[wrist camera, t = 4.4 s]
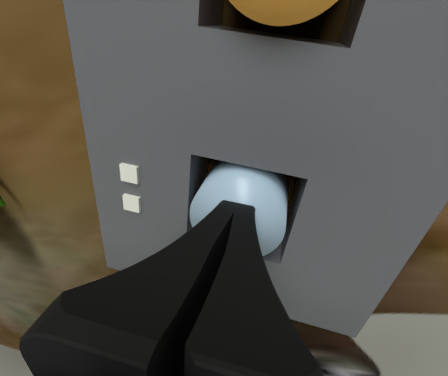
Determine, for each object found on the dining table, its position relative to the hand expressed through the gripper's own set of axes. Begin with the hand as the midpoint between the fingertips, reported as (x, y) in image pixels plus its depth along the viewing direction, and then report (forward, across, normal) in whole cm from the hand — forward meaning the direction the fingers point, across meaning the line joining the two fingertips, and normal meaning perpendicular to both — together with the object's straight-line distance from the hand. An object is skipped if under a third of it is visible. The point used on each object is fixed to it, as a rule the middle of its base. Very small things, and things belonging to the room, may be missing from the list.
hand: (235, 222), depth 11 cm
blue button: (+3, 0, 0) cm, 3 cm away
